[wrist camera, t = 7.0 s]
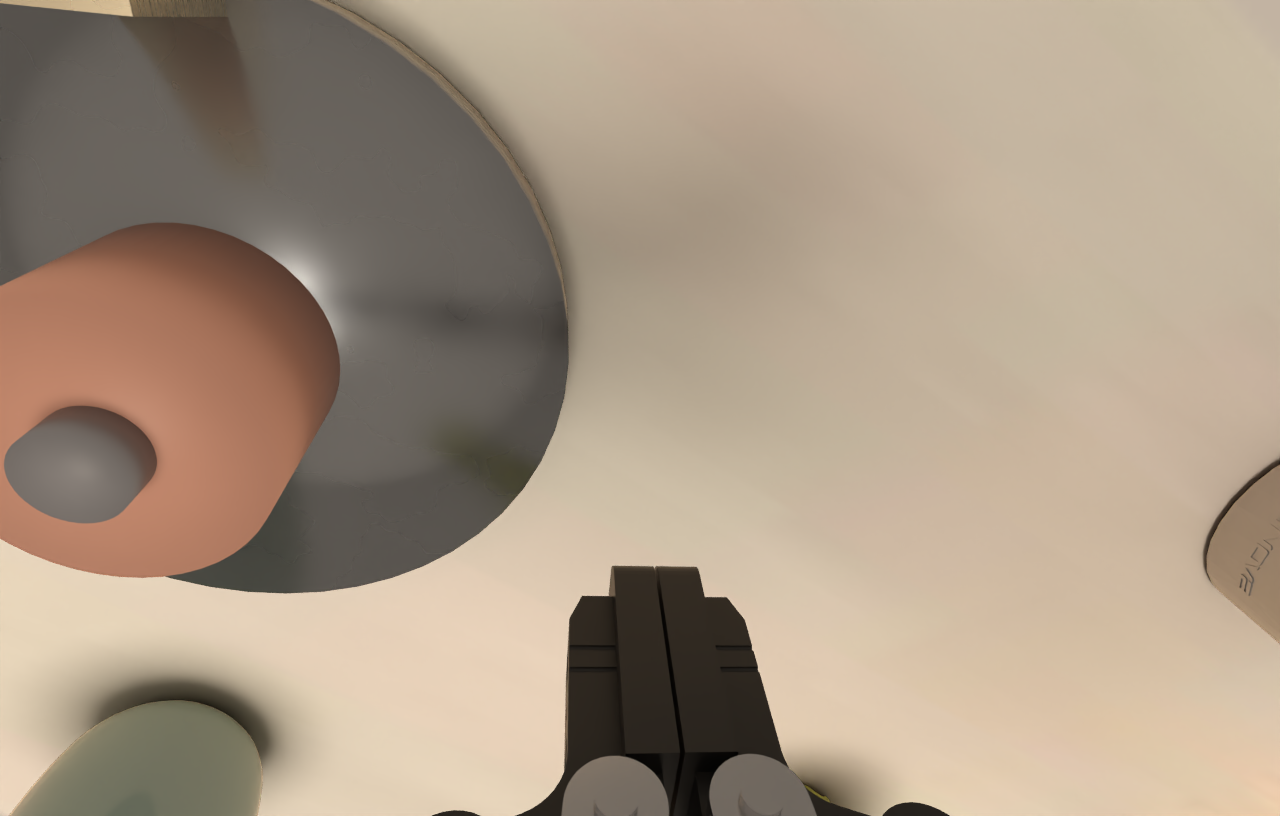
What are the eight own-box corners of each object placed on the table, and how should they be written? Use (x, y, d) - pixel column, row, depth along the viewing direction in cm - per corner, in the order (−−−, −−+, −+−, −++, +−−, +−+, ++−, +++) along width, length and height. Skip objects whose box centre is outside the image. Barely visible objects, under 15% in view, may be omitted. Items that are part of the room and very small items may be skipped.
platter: (605, -400, 14) (629, -622, 9) (556, 561, 26) (556, 685, 21) (-496, -614, 11) (-1266, -1076, 7) (19, 559, 23) (-119, 699, 19)
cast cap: (322, 230, 18) (223, 321, 12) (353, 460, 21) (286, 607, 16) (17, 213, 17) (-230, 302, 11) (100, 457, 20) (-61, 611, 15)
